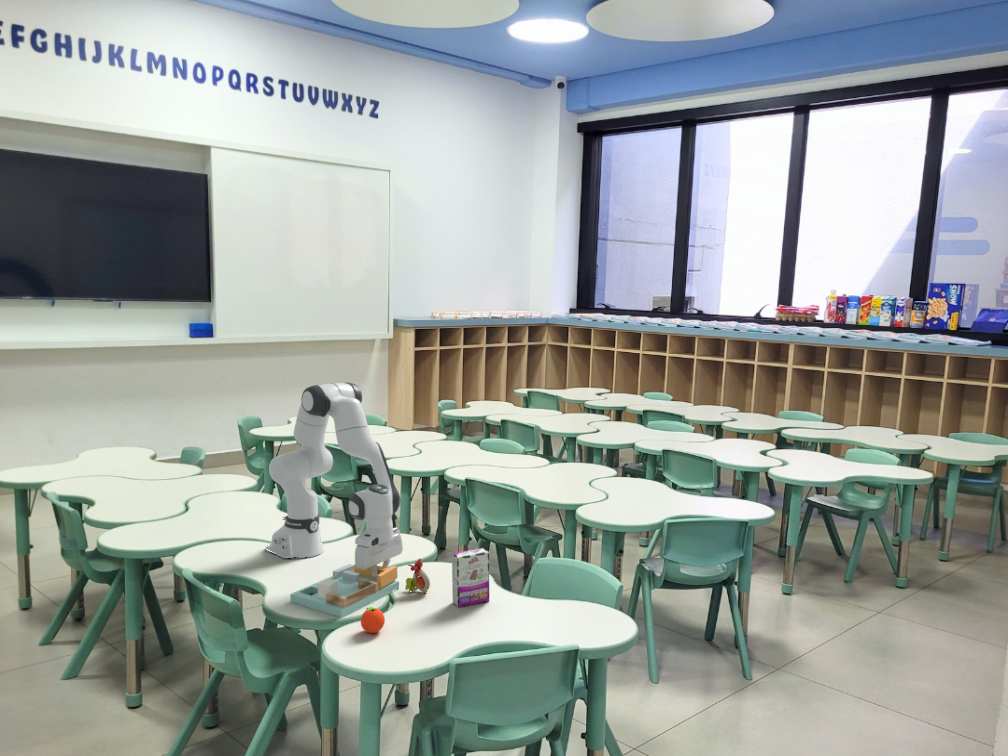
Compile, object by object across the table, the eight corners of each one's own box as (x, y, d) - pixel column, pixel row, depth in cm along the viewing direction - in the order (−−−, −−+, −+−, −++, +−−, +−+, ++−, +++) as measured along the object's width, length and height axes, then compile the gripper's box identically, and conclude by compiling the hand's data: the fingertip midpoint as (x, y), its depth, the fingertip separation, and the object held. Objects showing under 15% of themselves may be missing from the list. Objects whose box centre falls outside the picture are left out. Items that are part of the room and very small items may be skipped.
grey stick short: (332, 577, 258) (332, 571, 258) (349, 570, 265) (349, 564, 265) (337, 578, 257) (337, 572, 257) (354, 571, 264) (354, 565, 264)
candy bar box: (482, 596, 250) (483, 547, 248) (489, 601, 245) (490, 552, 244) (451, 602, 245) (451, 552, 243) (457, 608, 240) (457, 557, 238)
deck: (290, 601, 244) (290, 594, 244) (349, 575, 267) (349, 568, 267) (341, 617, 233) (341, 609, 232) (399, 588, 255) (399, 581, 255)
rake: (342, 580, 254) (341, 568, 254) (358, 570, 263) (358, 559, 262) (381, 588, 248) (381, 576, 247) (397, 578, 256) (397, 566, 255)
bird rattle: (431, 596, 255) (413, 579, 259) (441, 569, 251) (422, 553, 256) (418, 602, 250) (399, 585, 254) (428, 575, 246) (409, 558, 251)
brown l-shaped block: (326, 602, 237) (326, 593, 237) (360, 586, 250) (360, 577, 250) (344, 608, 233) (344, 598, 233) (378, 591, 246) (378, 582, 246)
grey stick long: (342, 578, 257) (342, 572, 257) (347, 576, 259) (346, 570, 259) (355, 582, 254) (355, 575, 254) (360, 580, 256) (360, 573, 256)
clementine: (355, 629, 225) (354, 605, 224) (376, 623, 229) (376, 600, 228) (367, 639, 218) (366, 615, 218) (389, 633, 222) (388, 609, 222)
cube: (317, 597, 242) (317, 583, 241) (326, 591, 246) (326, 578, 245) (329, 599, 240) (329, 585, 239) (338, 594, 244) (338, 580, 244)
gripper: (392, 524, 266) (392, 563, 268) (351, 540, 249) (352, 581, 250) (406, 527, 263) (407, 566, 264) (366, 544, 246) (366, 585, 247)
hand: (379, 574), depth 257 cm, fingers closed on rake, 3 cm apart
